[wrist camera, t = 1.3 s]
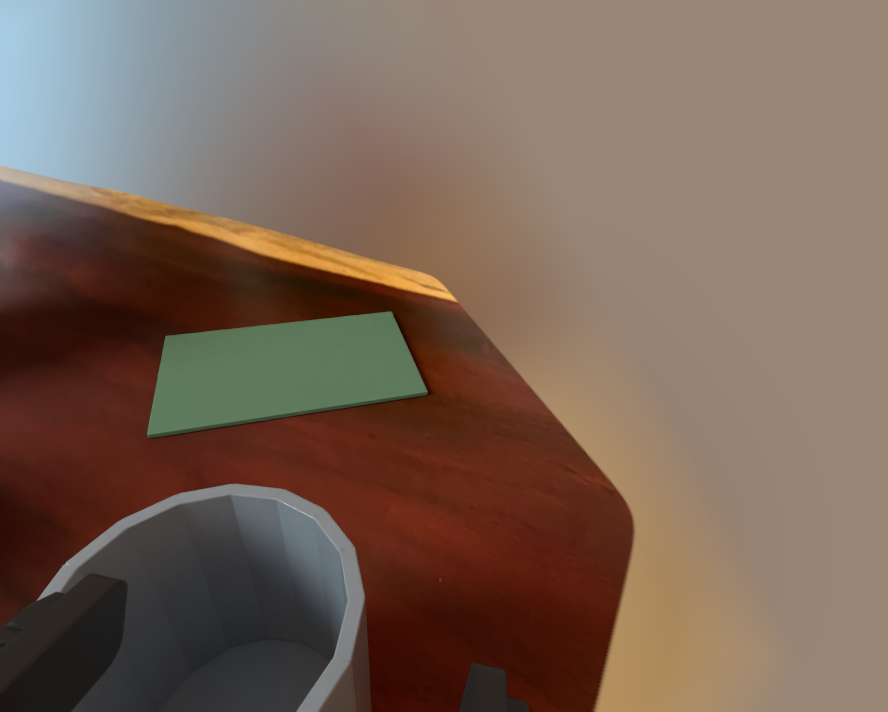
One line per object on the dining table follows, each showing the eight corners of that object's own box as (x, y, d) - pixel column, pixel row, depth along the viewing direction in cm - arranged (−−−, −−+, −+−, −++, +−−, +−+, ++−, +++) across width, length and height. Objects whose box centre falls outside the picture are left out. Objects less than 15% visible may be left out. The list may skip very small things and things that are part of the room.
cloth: (391, 314, 57) (391, 311, 57) (427, 395, 47) (427, 391, 46) (166, 339, 51) (165, 335, 51) (148, 438, 41) (146, 435, 40)
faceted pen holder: (350, 612, 30) (337, 463, 24) (393, 856, 22) (393, 736, 15) (139, 667, 27) (54, 515, 21) (97, 973, 19) (-70, 890, 12)
